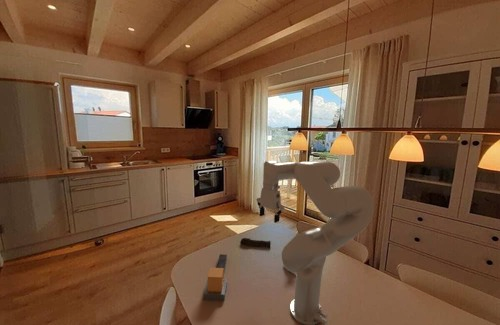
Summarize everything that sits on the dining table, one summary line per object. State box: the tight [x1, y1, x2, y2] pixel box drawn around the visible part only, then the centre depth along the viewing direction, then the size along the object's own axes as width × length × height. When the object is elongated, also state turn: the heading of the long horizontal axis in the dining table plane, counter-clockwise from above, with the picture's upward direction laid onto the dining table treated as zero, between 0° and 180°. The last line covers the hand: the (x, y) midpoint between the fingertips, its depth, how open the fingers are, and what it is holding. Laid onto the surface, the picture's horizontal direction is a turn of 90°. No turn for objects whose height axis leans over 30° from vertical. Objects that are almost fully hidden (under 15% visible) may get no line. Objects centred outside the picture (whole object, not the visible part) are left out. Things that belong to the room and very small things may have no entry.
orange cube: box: [207, 267, 225, 292], centre depth 94 cm, size 6×6×7 cm
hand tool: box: [239, 237, 272, 249], centre depth 133 cm, size 19×4×5 cm, turn 81°
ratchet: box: [202, 253, 228, 302], centre depth 105 cm, size 29×9×6 cm, turn 179°
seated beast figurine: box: [282, 263, 296, 276], centre depth 112 cm, size 10×9×12 cm
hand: (269, 218), depth 107 cm, fingers open, 9 cm apart
